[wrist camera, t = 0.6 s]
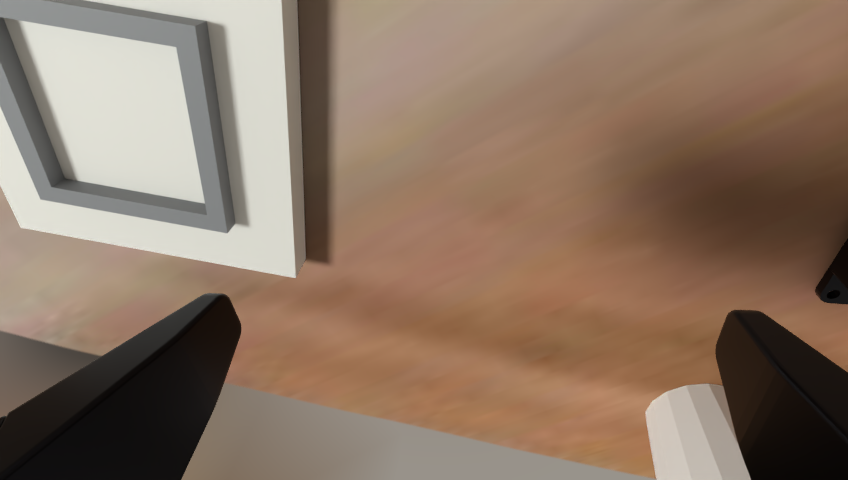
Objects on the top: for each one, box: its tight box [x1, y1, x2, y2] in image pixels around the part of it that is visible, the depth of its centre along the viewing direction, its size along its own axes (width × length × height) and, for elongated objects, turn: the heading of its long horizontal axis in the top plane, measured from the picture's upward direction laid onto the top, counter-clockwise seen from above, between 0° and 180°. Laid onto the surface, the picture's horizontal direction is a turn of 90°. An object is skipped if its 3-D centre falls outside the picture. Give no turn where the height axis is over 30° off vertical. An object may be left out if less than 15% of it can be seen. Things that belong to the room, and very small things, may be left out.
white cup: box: [646, 384, 751, 480], centre depth 24 cm, size 7×7×7 cm
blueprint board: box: [0, 0, 306, 278], centre depth 19 cm, size 14×14×2 cm
